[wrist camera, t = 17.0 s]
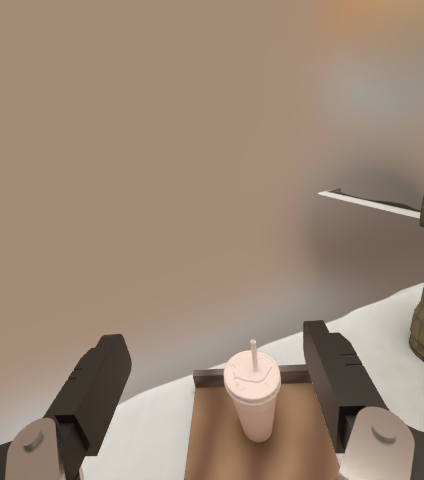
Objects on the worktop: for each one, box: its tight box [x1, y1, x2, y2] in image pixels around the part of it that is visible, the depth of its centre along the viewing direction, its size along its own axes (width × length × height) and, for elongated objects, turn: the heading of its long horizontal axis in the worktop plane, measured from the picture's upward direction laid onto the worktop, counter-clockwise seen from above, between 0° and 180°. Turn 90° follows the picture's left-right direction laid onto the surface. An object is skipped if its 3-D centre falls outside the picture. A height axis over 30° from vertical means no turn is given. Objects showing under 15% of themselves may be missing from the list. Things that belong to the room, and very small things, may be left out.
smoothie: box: [224, 340, 281, 442], centre depth 30 cm, size 6×6×14 cm
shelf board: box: [184, 364, 340, 480], centre depth 33 cm, size 17×13×4 cm
